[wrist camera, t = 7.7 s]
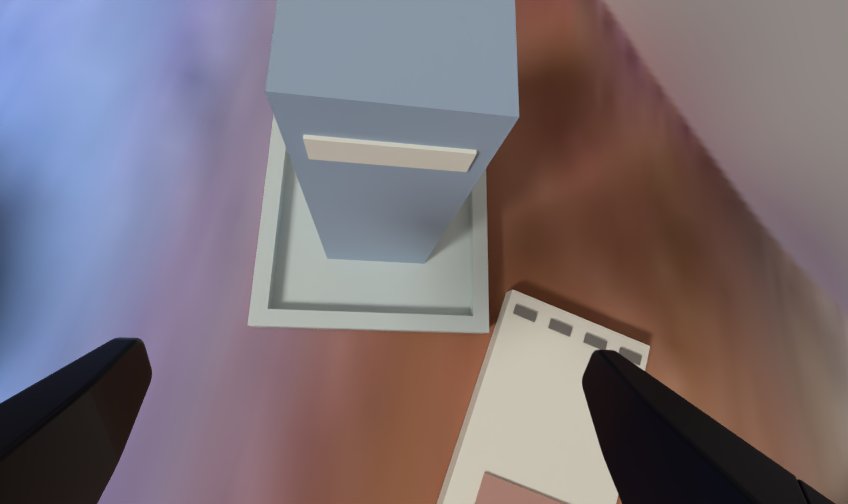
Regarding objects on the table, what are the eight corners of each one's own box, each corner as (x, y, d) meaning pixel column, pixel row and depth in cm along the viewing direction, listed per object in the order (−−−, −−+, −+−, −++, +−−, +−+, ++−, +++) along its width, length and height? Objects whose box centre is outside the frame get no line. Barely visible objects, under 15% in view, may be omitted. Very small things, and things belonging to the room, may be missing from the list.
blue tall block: (423, 265, 22) (519, 121, 8) (327, 260, 21) (264, 96, 8) (425, 184, 23) (512, -56, 10) (333, 177, 22) (289, -92, 9)
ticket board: (558, 700, 18) (570, 721, 17) (392, 638, 18) (394, 656, 17) (638, 346, 23) (651, 346, 22) (506, 292, 23) (513, 288, 22)
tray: (482, 333, 22) (489, 332, 21) (254, 327, 20) (247, 325, 19) (479, 136, 25) (485, 125, 24) (279, 118, 23) (274, 105, 22)
